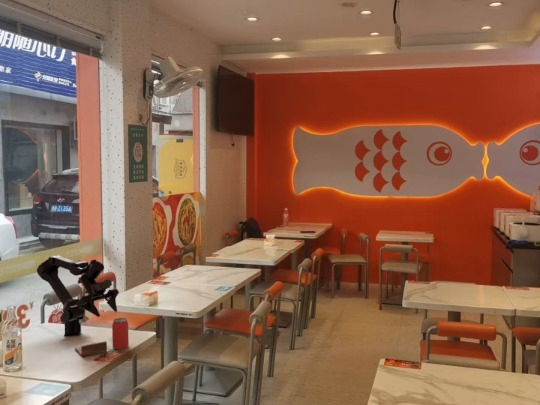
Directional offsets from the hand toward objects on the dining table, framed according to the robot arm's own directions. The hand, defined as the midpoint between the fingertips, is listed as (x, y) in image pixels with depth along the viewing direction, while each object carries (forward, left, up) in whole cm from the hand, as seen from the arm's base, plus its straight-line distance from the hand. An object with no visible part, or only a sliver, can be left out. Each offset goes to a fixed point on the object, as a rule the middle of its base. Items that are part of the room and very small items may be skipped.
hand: (108, 313), depth 238 cm
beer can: (+5, -6, -14) cm, 16 cm away
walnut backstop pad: (-7, -8, -13) cm, 17 cm away
